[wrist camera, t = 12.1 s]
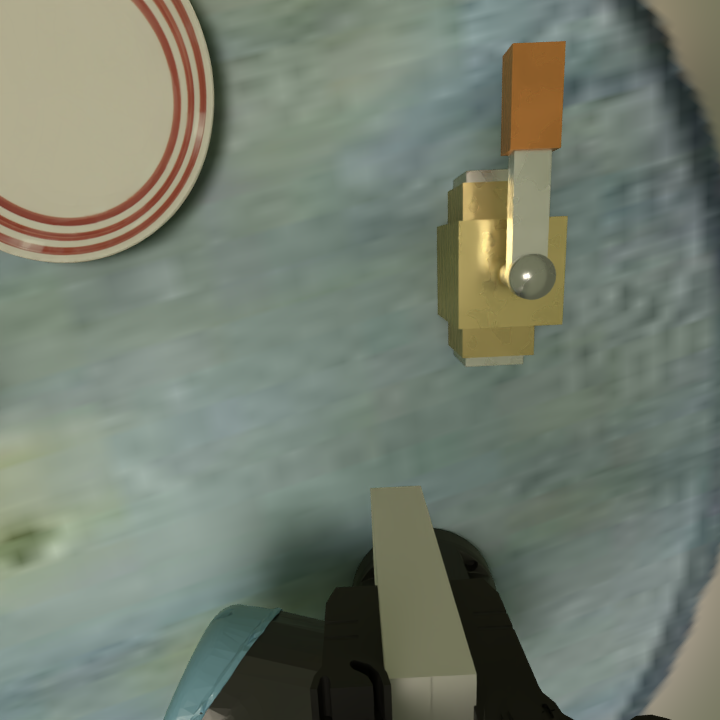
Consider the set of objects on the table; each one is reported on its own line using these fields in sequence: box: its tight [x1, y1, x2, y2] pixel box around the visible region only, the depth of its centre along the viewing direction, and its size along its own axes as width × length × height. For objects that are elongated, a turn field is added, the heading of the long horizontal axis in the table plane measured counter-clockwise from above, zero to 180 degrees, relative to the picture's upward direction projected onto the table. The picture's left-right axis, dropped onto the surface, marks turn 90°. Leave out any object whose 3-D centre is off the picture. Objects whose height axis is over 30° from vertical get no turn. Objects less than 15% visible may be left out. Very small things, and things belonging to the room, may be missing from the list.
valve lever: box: [500, 41, 566, 300], centre depth 32 cm, size 3×16×4 cm, turn 3°
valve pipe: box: [437, 169, 567, 367], centre depth 40 cm, size 16×8×9 cm, turn 3°
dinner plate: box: [0, 0, 214, 263], centre depth 40 cm, size 27×27×3 cm
